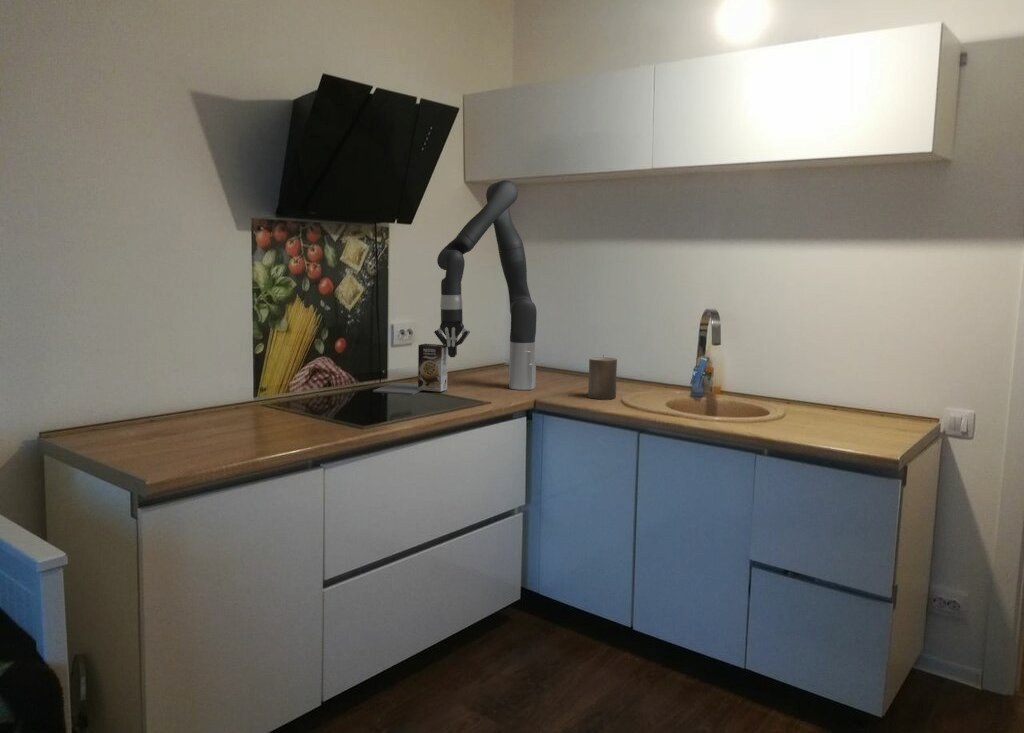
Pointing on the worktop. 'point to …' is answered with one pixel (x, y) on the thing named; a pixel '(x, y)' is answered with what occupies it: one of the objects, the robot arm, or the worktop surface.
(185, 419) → the worktop surface
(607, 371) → the pillar candle
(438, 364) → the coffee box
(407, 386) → the mat
